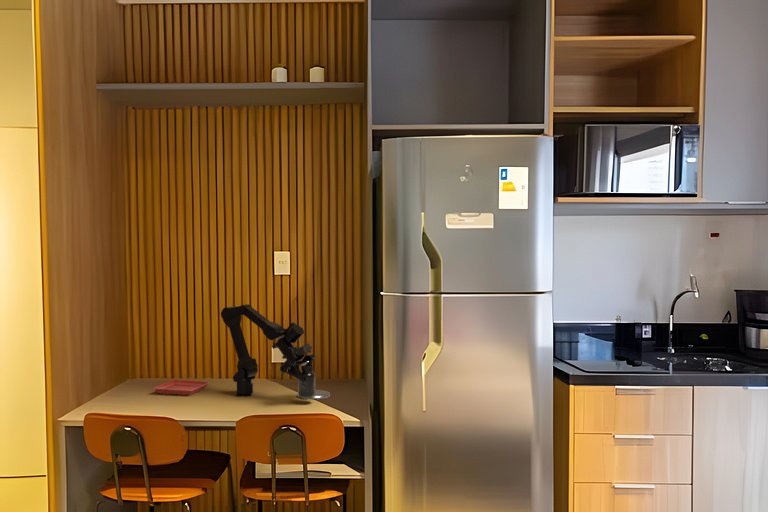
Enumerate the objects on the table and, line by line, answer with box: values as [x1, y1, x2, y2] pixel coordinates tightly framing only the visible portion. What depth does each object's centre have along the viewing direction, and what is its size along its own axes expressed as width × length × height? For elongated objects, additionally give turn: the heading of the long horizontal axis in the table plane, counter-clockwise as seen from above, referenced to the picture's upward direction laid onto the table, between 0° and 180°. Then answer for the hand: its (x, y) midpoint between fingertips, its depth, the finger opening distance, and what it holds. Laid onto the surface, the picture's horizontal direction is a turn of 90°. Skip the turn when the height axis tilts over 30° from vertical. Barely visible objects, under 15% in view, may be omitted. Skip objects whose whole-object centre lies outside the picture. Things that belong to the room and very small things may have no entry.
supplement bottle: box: [298, 364, 316, 397], centre depth 270 cm, size 7×7×12 cm
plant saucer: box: [153, 379, 210, 396], centre depth 291 cm, size 18×18×3 cm
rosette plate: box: [297, 389, 331, 400], centre depth 283 cm, size 14×14×1 cm
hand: (309, 379), depth 269 cm, fingers closed on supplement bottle, 7 cm apart
